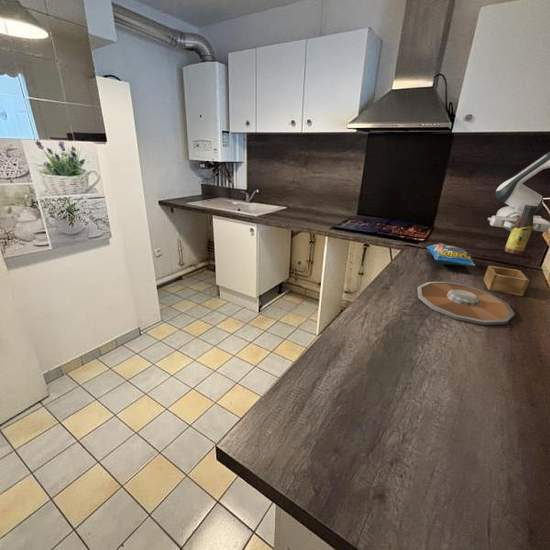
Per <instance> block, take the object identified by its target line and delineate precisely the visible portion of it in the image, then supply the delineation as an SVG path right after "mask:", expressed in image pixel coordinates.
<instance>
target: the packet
mask: <svg viewBox="0 0 550 550" xmlns="http://www.w3.org/2000/svg"><path fill="white" fill-rule="evenodd" d="M426 250H427V252H428V253H429V254H430V255H432V256H433V258H434V260H435V263H436V264H441V265H442V266H464V267H465V266H466V267H474V266H476V263H474V262H473V259H472V257H471V254H469V252H467V251H466V250H465V249H464V248H461V247H457V246H453V245H448V244H445V243H443V242H440V243H435V244H432V245H429V246H426Z"/></svg>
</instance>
